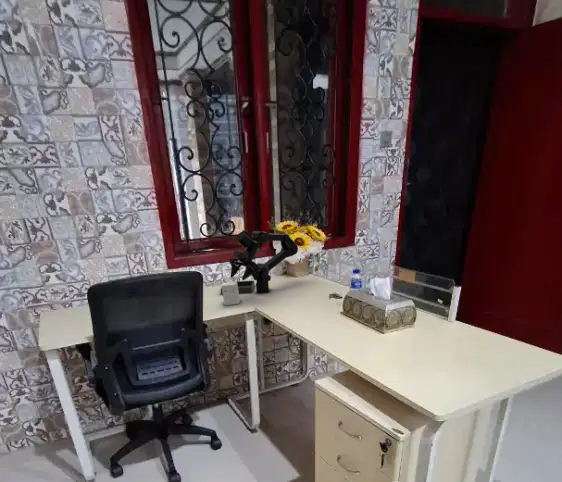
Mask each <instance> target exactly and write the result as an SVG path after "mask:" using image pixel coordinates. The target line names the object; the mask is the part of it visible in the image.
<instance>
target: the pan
mask: <svg viewBox="0 0 562 482" xmlns="http://www.w3.org/2000/svg"><path fill="white" fill-rule="evenodd" d="M236 281H237V280H236ZM226 282H227V281H225V282H224V283H226ZM237 285H238V292H239V294H252V293H253V291H254V289H255V287H256V284H255V280H254V279H253V280H240V281H237ZM220 293H221V295H223V292H222V287H221V288H220Z"/></svg>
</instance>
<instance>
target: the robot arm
mask: <svg viewBox="0 0 562 482" xmlns="http://www.w3.org/2000/svg"><path fill="white" fill-rule="evenodd" d="M235 241H237V243H238V244H240V245H241V246H242V247H243V248H245V250H244V249H242V250H241V251H239V250H233V252H232V257H230V258H229V260H228V263H229V264H230V267H231V268H230V269H231V270H230V275H229V276H230V278H231V279H232V278H234V276H236V274H237V273H238V272H239V271H240V269H241V267H245V270H244V273H243V275H242V277H241V281H246V280H247V279H248V278H249V277H250V276H251V277H252V279H253V280H254V281H256V283H255V289H256V293H257V294H263V293H265V294H266V293H269V292H270V284H269V282H270V281H271V280H272V279H271V278H272V276H271V275H270V274H269V273H270V272H271V270H272V269H274V268H275V267H276V266H278V265H279V264H281V262H284V260H285V259H287V258H290V257H293V256H295V255H297V254H298V253H299V252H298V251H299V247H298V245H297V243H296V242H295V241H294V240H293V239H292V238H291V237H290V235H289V234H288V233H270V232H267V231H263V230H253V231H252V232H251V233H248V231H247V230H245V229H242V230H241V231H240V232H239V233H238V234H236V237H235ZM270 241H271V242H280V246H281V248H280V251H278V253H276V254H274V255H273V256H272V257H271V258H269V259H268V260H267V261H266V262H264V263H262V262H261V263H260V262H258V263H257V262H255V261H254V260H256V254H257V252H258V251H262V250H263V248H262V245H261V244H264V243H267V242H270ZM259 243H261V244H259Z"/></svg>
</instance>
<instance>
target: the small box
mask: <svg viewBox="0 0 562 482" xmlns="http://www.w3.org/2000/svg"><path fill="white" fill-rule="evenodd" d="M225 282H226V283H225ZM225 282H222V283H221V288H222V292H223V294H222V298H223V304H224V306H230V305H239V304H240V303H241V302H240V301H241V300H240V299H241V298H240V293H239V292H238V285H237V280H235V281H225Z"/></svg>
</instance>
